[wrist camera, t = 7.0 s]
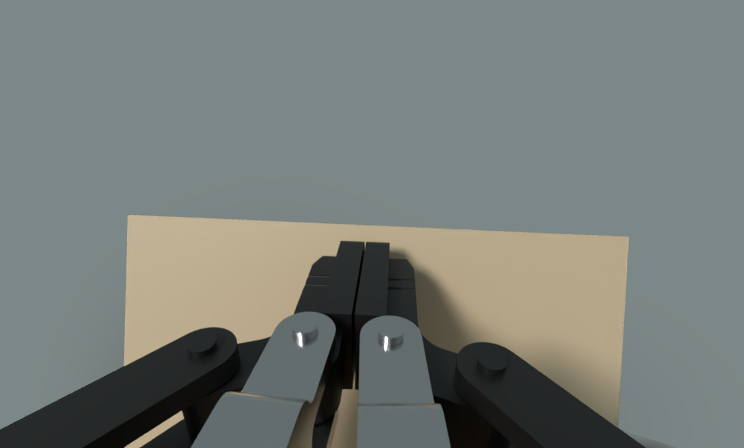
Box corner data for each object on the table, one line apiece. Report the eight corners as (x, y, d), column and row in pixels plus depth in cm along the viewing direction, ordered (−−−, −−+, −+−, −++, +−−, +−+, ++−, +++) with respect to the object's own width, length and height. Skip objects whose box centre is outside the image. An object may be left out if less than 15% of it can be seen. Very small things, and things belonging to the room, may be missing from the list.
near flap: (612, 512, 12) (607, 505, 12) (629, 237, 12) (623, 236, 12) (121, 470, 13) (127, 465, 13) (127, 215, 13) (134, 214, 13)
